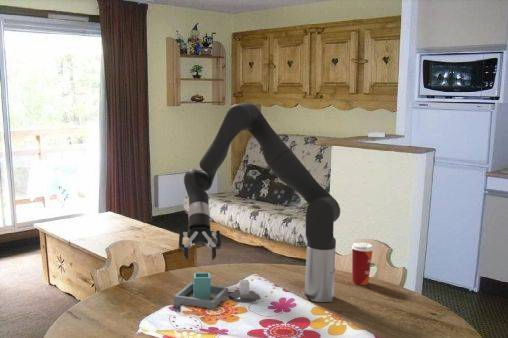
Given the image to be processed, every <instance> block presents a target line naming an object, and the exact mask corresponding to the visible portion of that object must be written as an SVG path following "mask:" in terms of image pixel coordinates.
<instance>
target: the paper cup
mask: <svg viewBox="0 0 508 338" xmlns="http://www.w3.org/2000/svg"><path fill="white" fill-rule="evenodd" d="M351 249H352V250H351V251H352V253H351V254H352V256H351V258H352V259H351V260H352V265H351V266H352V267H351V270H352V273H351V275H352V284H353V285H357V286H367V285H368V284H369V280H370V274H371V273H370V272H371V265H372V256H373V251H374V247H373V245H372V244H371V243H368V242H362V241H361V242H358V241H357V242H353V244H352V246H351ZM366 284H367V285H366Z"/></svg>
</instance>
